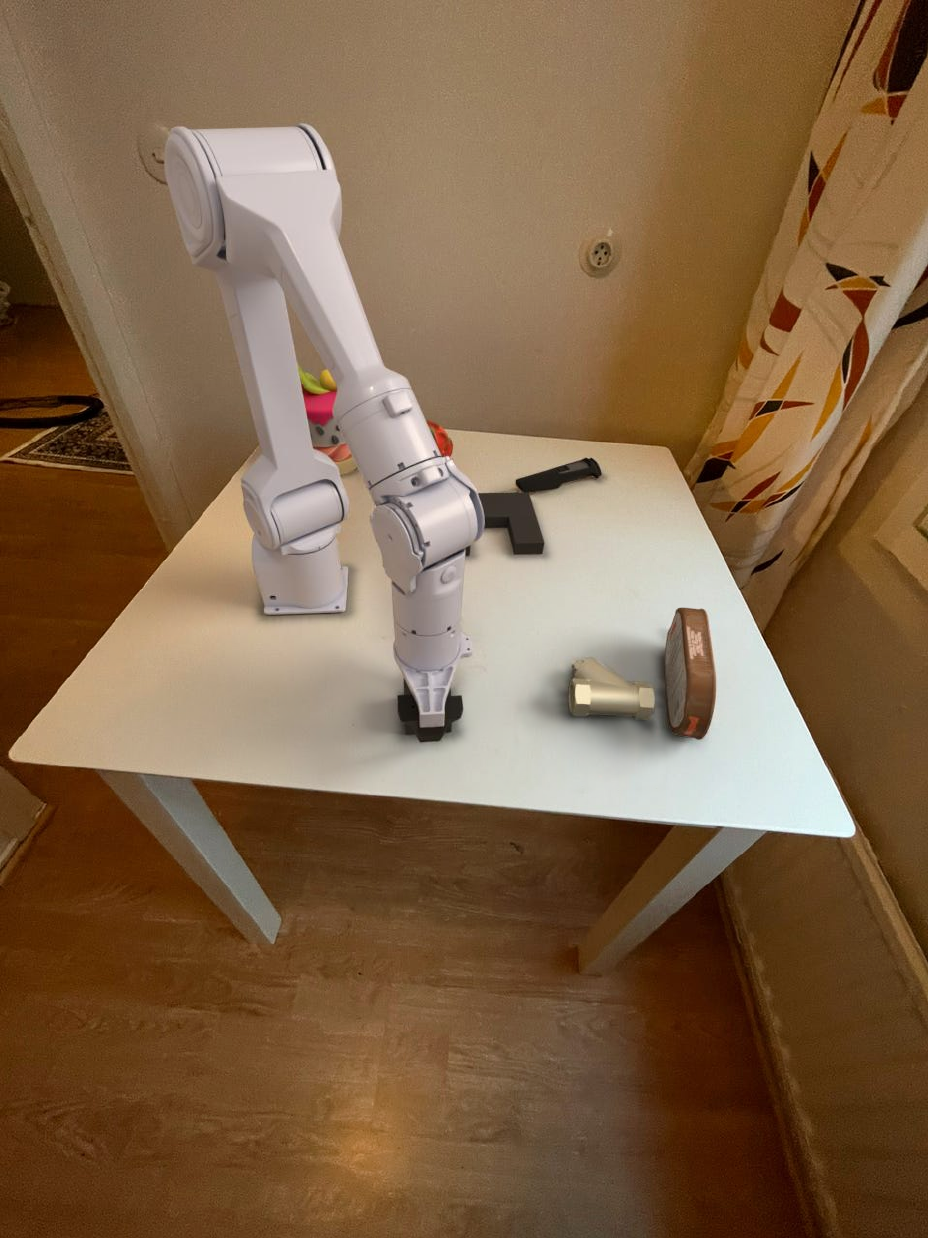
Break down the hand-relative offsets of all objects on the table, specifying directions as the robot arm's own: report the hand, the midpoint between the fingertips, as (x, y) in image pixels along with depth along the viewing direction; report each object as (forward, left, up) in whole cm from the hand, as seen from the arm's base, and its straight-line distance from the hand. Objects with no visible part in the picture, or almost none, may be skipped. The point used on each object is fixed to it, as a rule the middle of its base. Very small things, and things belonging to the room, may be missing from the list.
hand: (427, 705), depth 56 cm
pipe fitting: (+19, +1, -2) cm, 19 cm away
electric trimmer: (+23, +42, -2) cm, 48 cm away
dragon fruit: (+2, +47, -2) cm, 47 cm away
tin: (+27, +1, -2) cm, 27 cm away
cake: (-13, +50, -2) cm, 52 cm away
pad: (0, 0, -2) cm, 2 cm away
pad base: (+10, +31, -2) cm, 33 cm away
